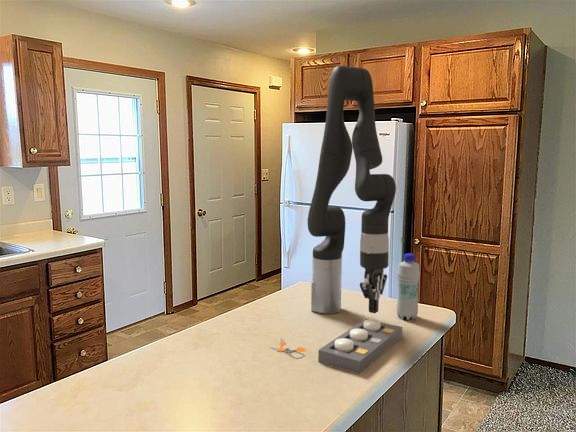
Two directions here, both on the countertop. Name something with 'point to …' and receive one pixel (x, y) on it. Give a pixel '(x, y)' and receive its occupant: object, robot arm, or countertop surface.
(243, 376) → the countertop surface
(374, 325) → the button back
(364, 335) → the button middle
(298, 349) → the key chain
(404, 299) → the bottle
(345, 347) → the button front
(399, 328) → the panel
